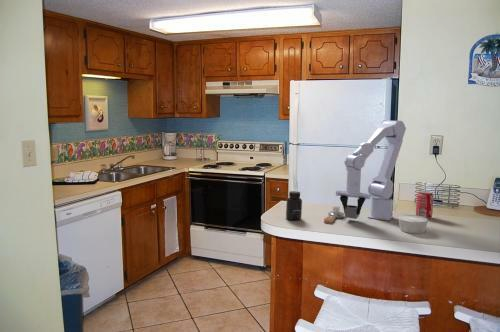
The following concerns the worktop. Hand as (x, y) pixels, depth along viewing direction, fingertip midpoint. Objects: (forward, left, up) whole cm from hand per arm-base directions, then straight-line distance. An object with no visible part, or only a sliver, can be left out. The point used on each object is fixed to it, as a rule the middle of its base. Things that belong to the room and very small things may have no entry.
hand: (352, 213), depth 181 cm
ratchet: (+8, +1, -3) cm, 9 cm away
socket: (0, 0, -2) cm, 2 cm away
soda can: (-27, -24, -4) cm, 36 cm away
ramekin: (-25, +1, -4) cm, 25 cm away
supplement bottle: (+23, +10, -4) cm, 25 cm away
